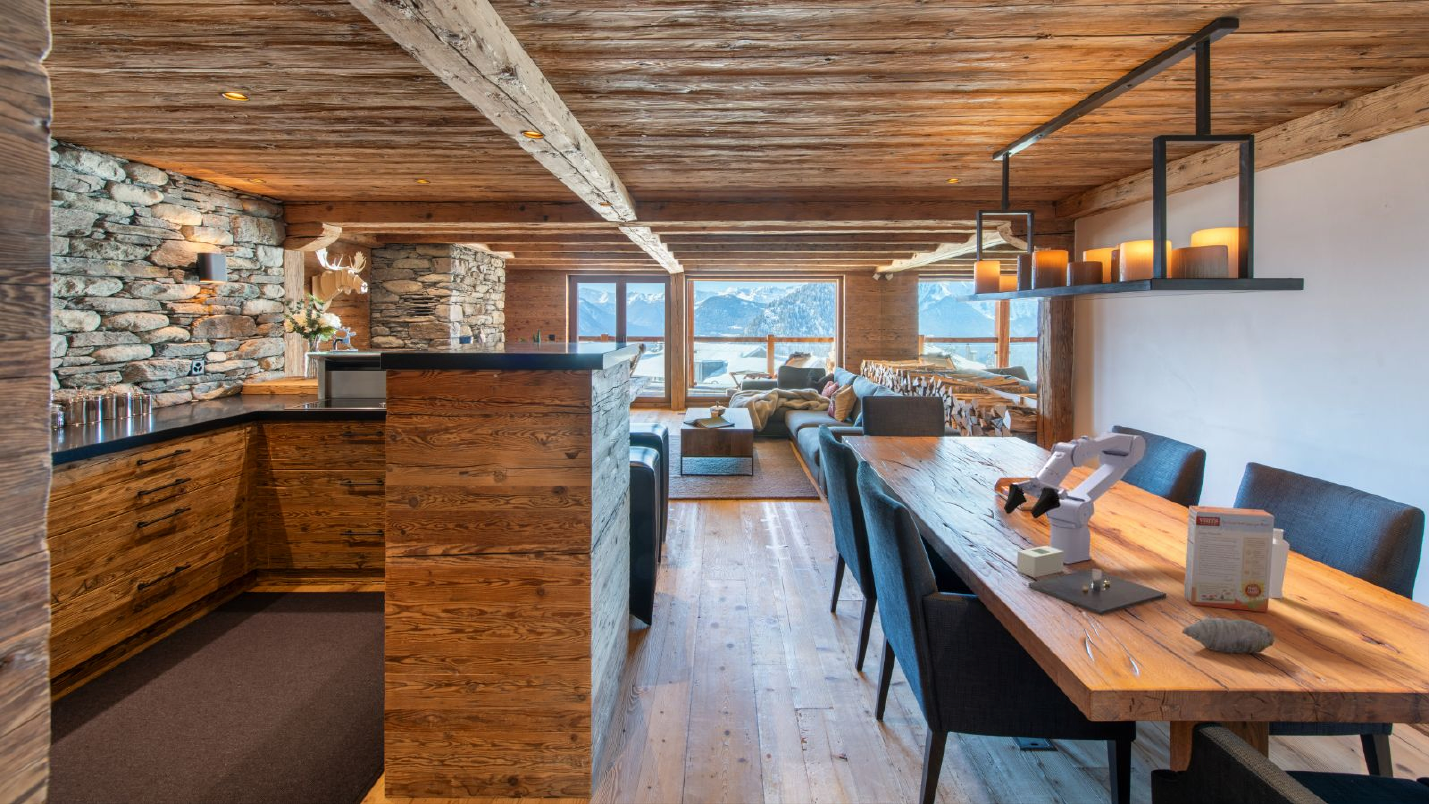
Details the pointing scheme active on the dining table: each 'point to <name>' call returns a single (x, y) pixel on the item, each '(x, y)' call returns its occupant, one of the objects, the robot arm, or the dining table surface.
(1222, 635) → the seashell
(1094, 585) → the stand
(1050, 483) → the robot arm
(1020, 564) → the block with square hole
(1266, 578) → the cracker box
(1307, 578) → the dining table surface
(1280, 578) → the white plastic bottle
